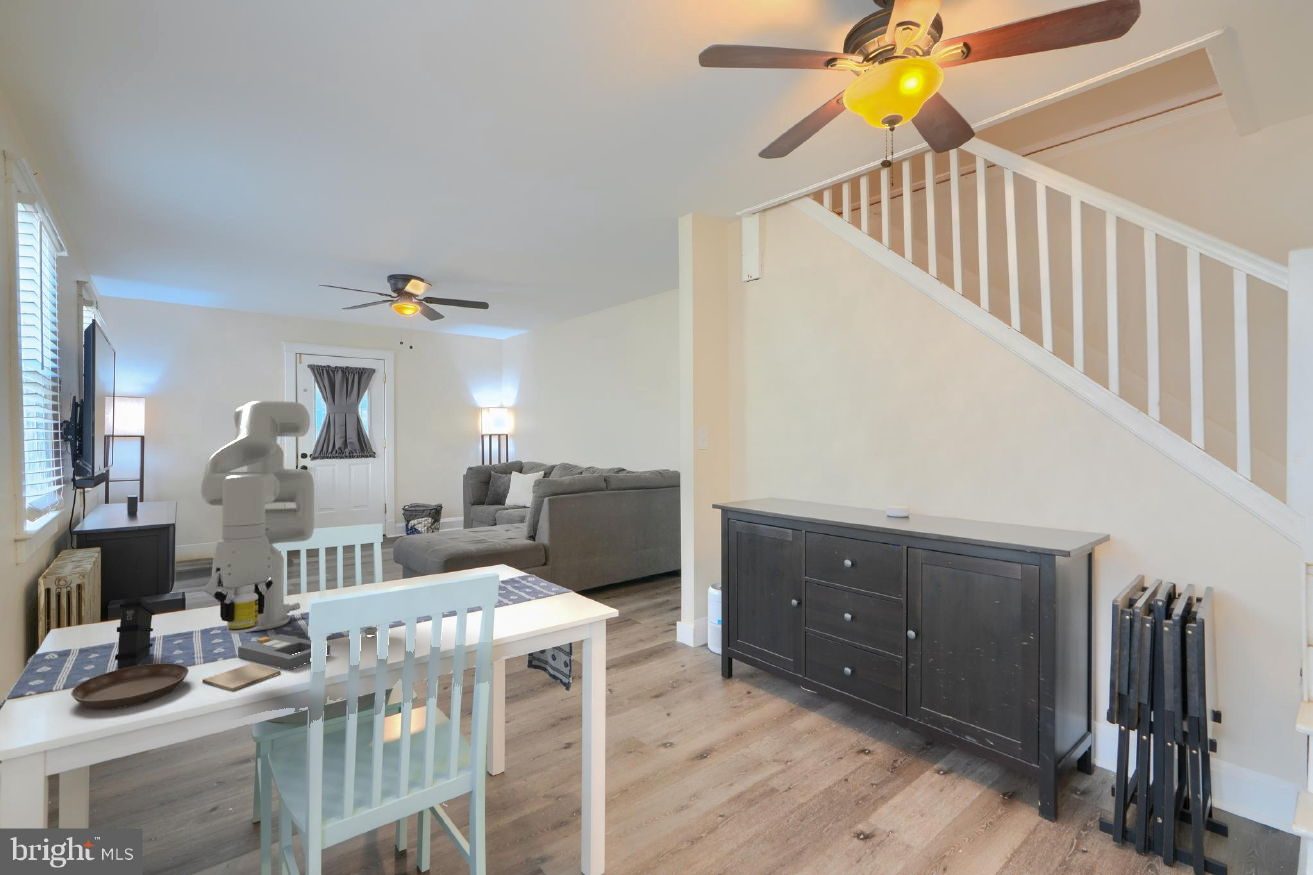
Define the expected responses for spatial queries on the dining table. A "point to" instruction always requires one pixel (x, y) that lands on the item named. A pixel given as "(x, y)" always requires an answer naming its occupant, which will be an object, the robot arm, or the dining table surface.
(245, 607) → the supplement bottle
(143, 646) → the magazine
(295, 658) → the grey panel with buttons
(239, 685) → the cork mat
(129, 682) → the plant saucer
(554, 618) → the dining table surface
